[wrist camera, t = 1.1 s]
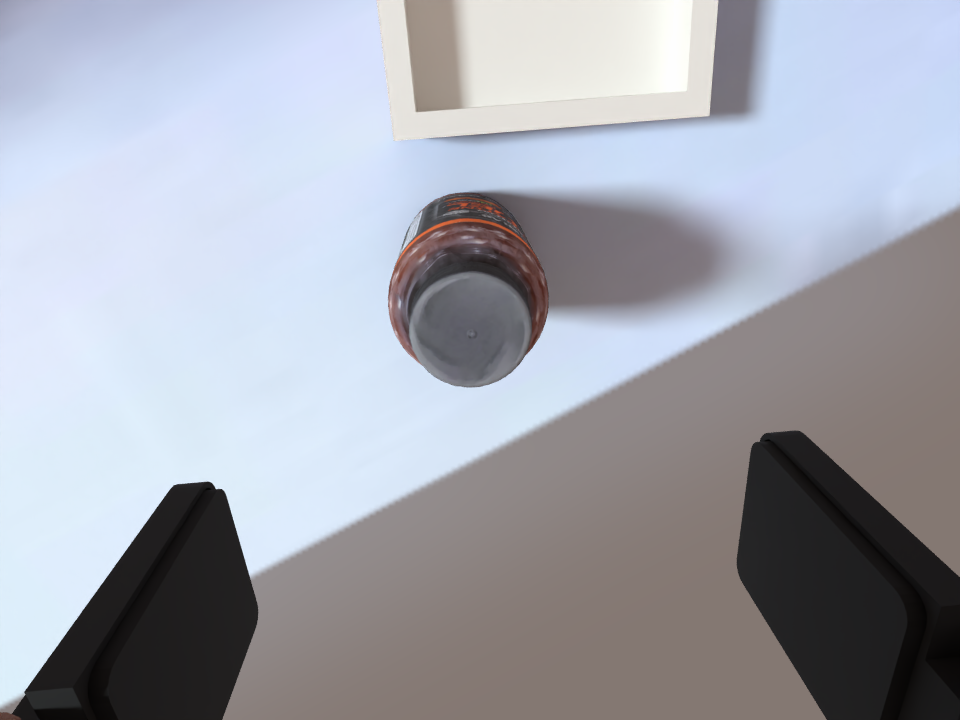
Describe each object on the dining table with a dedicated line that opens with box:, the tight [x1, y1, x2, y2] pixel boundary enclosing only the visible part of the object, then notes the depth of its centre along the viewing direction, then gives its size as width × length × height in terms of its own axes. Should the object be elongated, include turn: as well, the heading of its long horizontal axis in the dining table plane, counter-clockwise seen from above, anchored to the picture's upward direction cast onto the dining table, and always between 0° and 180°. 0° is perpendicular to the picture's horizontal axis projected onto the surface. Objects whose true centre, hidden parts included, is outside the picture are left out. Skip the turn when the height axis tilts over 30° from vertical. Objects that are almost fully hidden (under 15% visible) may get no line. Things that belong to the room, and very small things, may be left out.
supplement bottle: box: [388, 193, 548, 387], centre depth 24 cm, size 6×6×11 cm
